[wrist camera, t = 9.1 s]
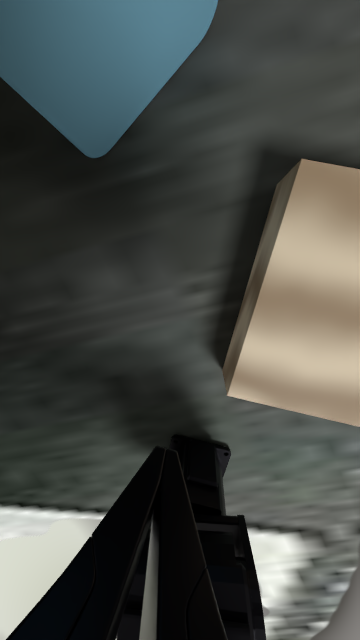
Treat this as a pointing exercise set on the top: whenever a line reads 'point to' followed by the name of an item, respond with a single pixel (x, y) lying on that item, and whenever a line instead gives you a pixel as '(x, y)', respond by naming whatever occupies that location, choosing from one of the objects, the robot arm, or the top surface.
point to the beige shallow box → (304, 300)
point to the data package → (96, 59)
